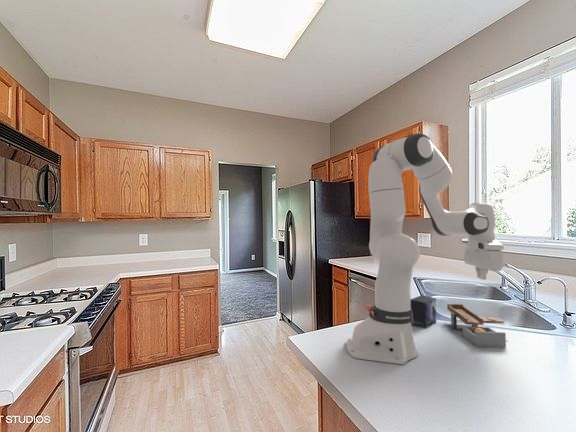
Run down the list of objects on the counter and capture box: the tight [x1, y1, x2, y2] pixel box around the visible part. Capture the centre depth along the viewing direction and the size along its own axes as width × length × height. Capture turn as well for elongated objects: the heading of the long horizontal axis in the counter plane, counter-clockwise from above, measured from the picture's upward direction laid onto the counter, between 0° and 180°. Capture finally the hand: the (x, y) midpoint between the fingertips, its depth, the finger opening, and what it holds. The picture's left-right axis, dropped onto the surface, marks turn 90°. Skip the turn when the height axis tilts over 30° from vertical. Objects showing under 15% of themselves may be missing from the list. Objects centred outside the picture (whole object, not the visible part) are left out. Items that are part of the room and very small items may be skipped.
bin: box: [461, 326, 507, 349], centre depth 98 cm, size 9×9×5 cm
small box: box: [411, 294, 437, 329], centre depth 116 cm, size 11×6×10 cm, turn 130°
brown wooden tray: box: [447, 303, 505, 326], centre depth 110 cm, size 14×15×2 cm
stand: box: [448, 312, 479, 331], centre depth 110 cm, size 10×4×6 cm, turn 84°
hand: (481, 278), depth 110 cm, fingers closed
